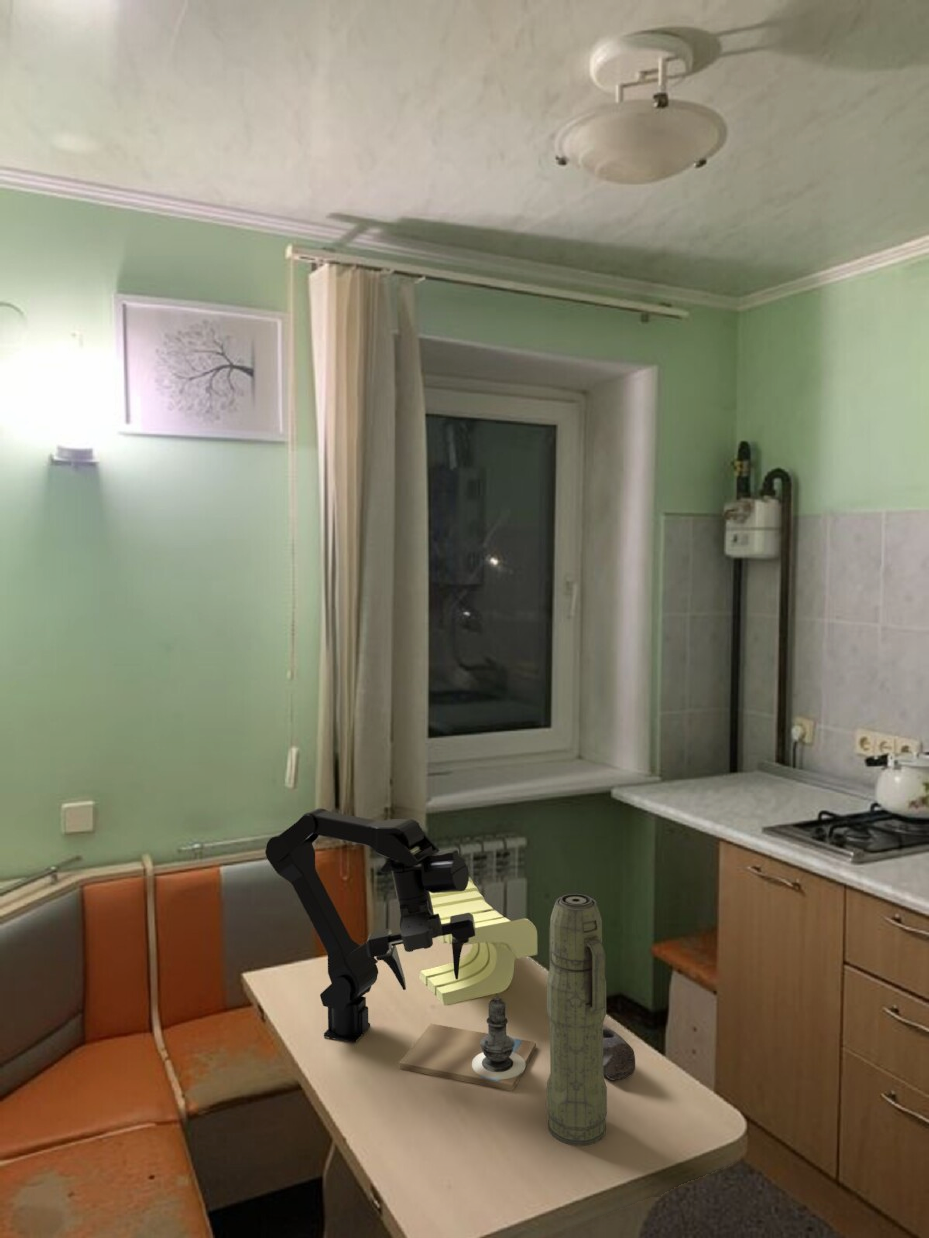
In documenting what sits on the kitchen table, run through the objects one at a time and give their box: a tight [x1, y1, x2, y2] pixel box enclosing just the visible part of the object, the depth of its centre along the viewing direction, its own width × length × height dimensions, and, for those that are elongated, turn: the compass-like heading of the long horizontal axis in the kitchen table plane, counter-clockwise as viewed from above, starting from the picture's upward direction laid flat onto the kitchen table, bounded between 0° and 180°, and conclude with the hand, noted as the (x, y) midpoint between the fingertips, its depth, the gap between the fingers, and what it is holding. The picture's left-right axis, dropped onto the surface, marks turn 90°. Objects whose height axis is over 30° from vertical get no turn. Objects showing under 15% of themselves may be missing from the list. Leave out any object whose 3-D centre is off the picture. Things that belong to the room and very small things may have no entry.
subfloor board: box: [398, 1023, 537, 1091], centre depth 156 cm, size 20×14×1 cm
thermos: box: [546, 893, 608, 1146], centre depth 136 cm, size 9×12×35 cm
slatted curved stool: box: [418, 876, 538, 1006], centre depth 184 cm, size 30×16×18 cm, turn 25°
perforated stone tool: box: [603, 1024, 636, 1081], centre depth 154 cm, size 15×5×7 cm, turn 24°
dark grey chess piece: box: [480, 993, 515, 1072], centre depth 152 cm, size 6×6×12 cm
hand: (430, 983), depth 157 cm, fingers open, 9 cm apart
